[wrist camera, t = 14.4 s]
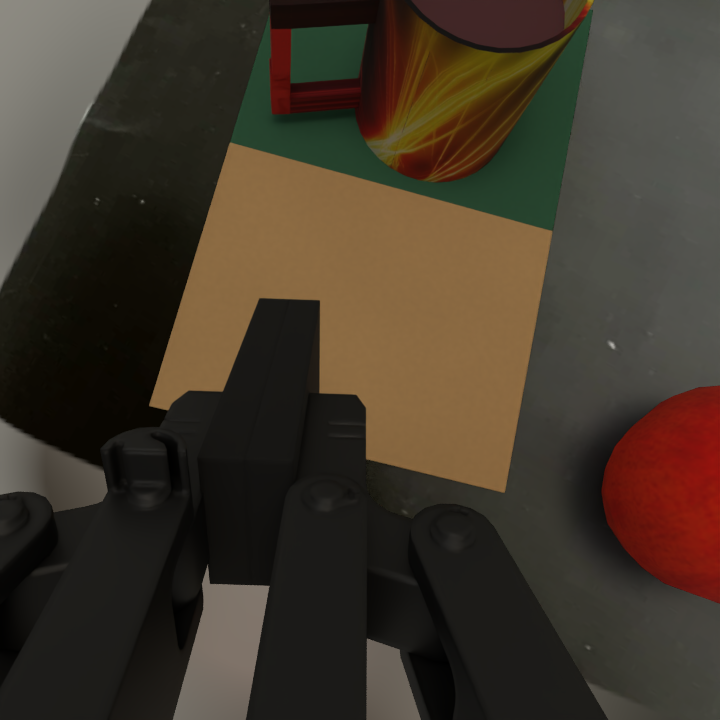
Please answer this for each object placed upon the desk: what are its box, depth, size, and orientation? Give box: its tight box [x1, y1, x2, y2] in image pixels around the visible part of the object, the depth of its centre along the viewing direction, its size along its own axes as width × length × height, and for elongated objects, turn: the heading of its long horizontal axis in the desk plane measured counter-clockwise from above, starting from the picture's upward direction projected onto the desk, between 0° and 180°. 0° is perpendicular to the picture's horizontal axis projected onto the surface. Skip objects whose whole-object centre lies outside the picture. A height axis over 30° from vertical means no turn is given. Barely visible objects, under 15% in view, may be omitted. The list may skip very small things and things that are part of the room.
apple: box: [601, 386, 720, 603], centre depth 31 cm, size 10×10×12 cm
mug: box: [269, 0, 594, 182], centre depth 33 cm, size 10×14×12 cm
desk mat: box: [149, 10, 593, 493], centre depth 38 cm, size 20×32×1 cm, turn 167°
